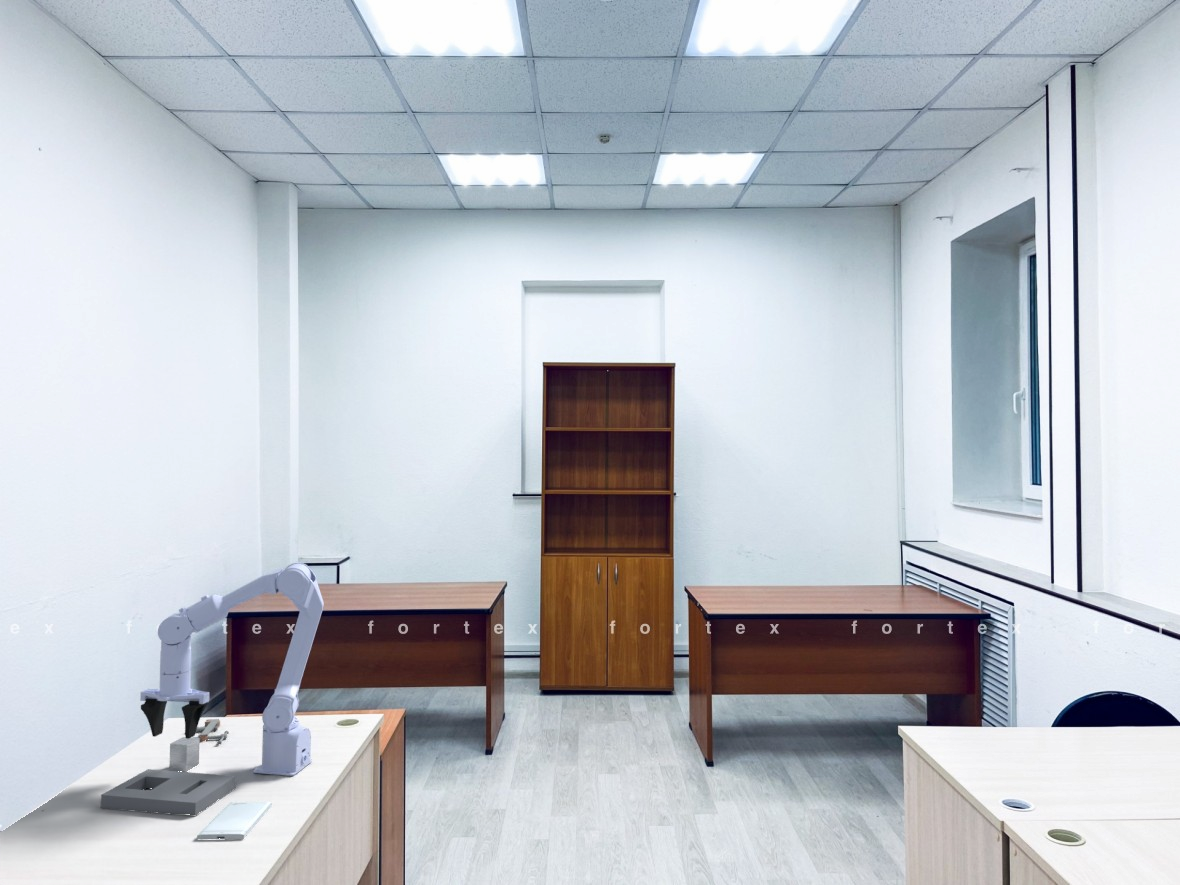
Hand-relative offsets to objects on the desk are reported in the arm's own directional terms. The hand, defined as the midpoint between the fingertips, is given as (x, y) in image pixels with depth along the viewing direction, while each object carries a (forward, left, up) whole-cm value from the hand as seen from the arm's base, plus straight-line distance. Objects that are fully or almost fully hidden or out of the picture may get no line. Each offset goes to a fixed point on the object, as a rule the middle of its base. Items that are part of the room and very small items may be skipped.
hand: (173, 735), depth 153 cm
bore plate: (-6, +9, -9) cm, 14 cm away
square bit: (+1, -4, -9) cm, 10 cm away
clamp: (+9, -23, -9) cm, 26 cm away
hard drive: (-25, +15, -10) cm, 31 cm away
